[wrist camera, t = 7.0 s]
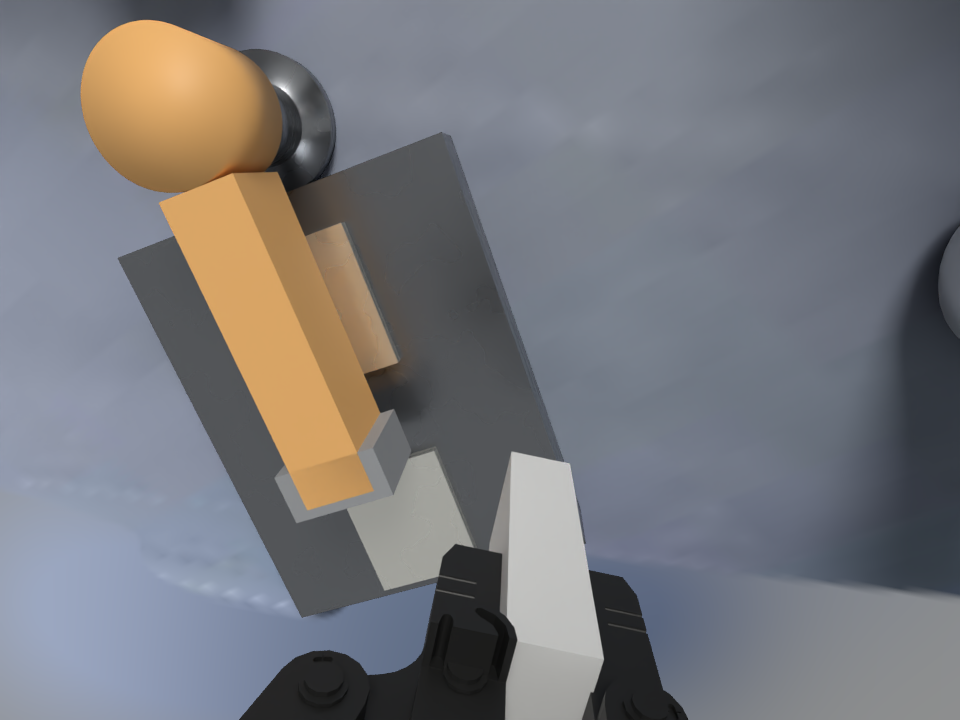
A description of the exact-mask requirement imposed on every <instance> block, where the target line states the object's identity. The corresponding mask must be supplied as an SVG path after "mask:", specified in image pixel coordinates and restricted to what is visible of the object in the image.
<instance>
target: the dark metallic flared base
mask: <svg viewBox="0 0 960 720" xmlns="http://www.w3.org/2000/svg"><path fill="white" fill-rule="evenodd" d="M239 52H241V53H242V54H244V55H246V56H247V57H248V58H250V59H251V60H252V61H254V62H255V63H256V64H257V65H258V66H259V67H260V68H261V70H262V71H263V72H264V73H265V75H266V76H267V77H268V79H269V81H270V82H271V84H272V86H273V88H274V90H275V92H276V94H277V97H278V100H279V103H280V108H281V112H282V137H281V142H280V146H279V149H278V152H277V154H276V156H275V158H274V160H273V162H272V163H271V165H270V166H269V167H268V168H267V170H266V171H265V172H278V174H279V177H280V179H281V181H282V184H283V186H284V188H285V191H286V192H289V191H292V190H294V189H297V188H299V187H302V186H304V185H307V184H310V183H312V182H314V181H315V180H317V179H318V177H319V176H320V175H321V174H322V173H323V171H324V170H325V168H326V167H327V165H328V163H329V161H330V158H331V156H332V153H333V149H334V144H335V136H336V127H335V118H334V113H333V109H332V106H331V103H330V100H329V98H328V96H327V94H326V92H325V90H324V89H323V87H322V85H321V84H320V83H319V81H318V80H317V79H316V78H315V76H314V75H313V74H312V73H311V72H310V71H309V70H308V69H306V68H305V67H304V66H302V65H301V64H300V63H298V62H296V61H294V60H293V59H291V58H288V57H286V56H284V55H281V54H279V53H277V52H273V51H269V50H262V49H249V50H244V51H239Z"/></svg>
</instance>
